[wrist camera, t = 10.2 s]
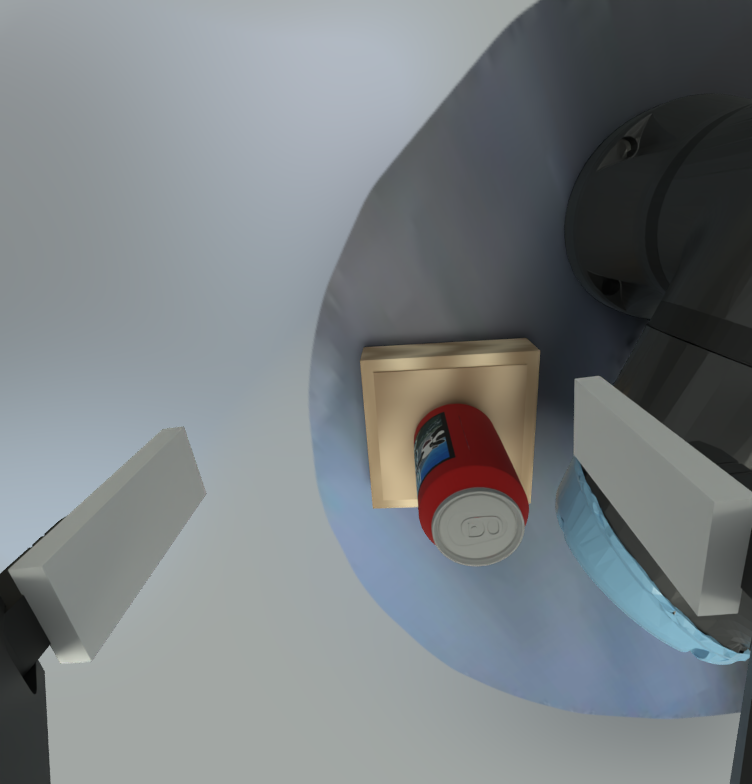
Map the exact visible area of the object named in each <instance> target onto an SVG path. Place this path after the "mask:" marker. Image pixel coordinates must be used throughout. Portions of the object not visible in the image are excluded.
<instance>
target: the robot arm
mask: <svg viewBox="0 0 752 784" xmlns="http://www.w3.org/2000/svg"><path fill="white" fill-rule="evenodd" d="M565 245H566V251H567V255H568V259H569V262H570V265H571V267H572V270H573V272H574V274H575V275H576V277H577V279H578V280H579V282H580V283H581V285H582V286H583V287H584V288H585V289H586V290H587V291H588V293H589V294H591V295H592V296H593V297H594V298H595V299H597V300H598V301H600V302H601V303H603V304H605V305H607V306H609V307H611V308H613V309H616V310H618V311H621V312H623V313H626V314H629V315H632V316H636V317H641V318H648V319H651V320H650V321H649V323H648V325H647V326H646V327H645V329H644V331H643V333H642V335H641V337H640V339H639V340H638V342H637V344H636V346H635V348H634V350H633V351H632V353H631V355H630V357H629V358H628V360H627V362H626V364H625V366H624V367H623V369H622V371H621V373H620V374H619V376H618V378H617V380H616V381H615V383H614V385H613V386H612V385H611V384H610V383H608V382H607V381H606V380H604V379H603V378H602V377H600V376H593V377H585V378H576V379H575V387H574V457H573V459H572V461H571V463H570V465H569V467H568V469H567V471H566V473H565V475H564V477H563V479H562V481H561V483H560V485H559V488H558V490H557V495H556V514H557V518H558V521H559V525H560V527H561V529H562V530H563V532H564V537H565V541H566V542H567V544H568V546H569V548H570V550H571V551H572V553H573V555H574V556H575V558H576V559H577V561H578V562H579V564H580V565H581V566H582V568H583V569H584V570H585V572H586V573H587V574H588V576H589V577H590V578H591V579H592V580H593V582H594V583H595V584H596V585H597V586H598V587H599V588H600V589H601V591H602V592H603V593H604V594H605V595H606V596H607V597H608V598H609V599H610V600H611V601H612V602H613V603H614V604H615V605H616V606H617V607H619V608H620V609H621V610H622V611H623V612H624V613H625V614H626V615H627V616H629V617H630V618H631V619H632V620H633V621H635V622H636V623H637V624H638V625H640V626H641V627H642V628H644V629H645V630H646V631H648V632H649V633H651V634H652V635H653V636H655V637H656V638H658V639H659V640H661V641H663V642H664V643H666V644H667V645H669V646H671V647H673V648H674V649H676V650H679V651H681V652H687V651H691V652H692V654H693V655H694V656H695V657H696V658H697V659H699V660H702V661H706V662H709V663H712V664H720V665H726V664H732V663H734V662H736V661H745V660H746V659H748V658H749V664H748V671H747V677H746V683H745V690H744V696H743V702H742V709H741V715H740V722H739V728H738V734H737V741H736V747H735V754H734V760H733V766H732V773H731V779H730V784H752V99H748V98H743V97H737V96H732V95H726V94H700V95H692V96H687V97H682V98H679V99H675V100H672V101H670V102H667V103H664V104H662V105H660V106H657V107H655V108H653V109H650V110H648V111H646V112H644V113H642V114H640V115H638V116H636V117H634V118H633V119H631V120H629V121H628V122H626V123H625V124H623V125H622V126H621V127H619V128H618V129H617V130H616V131H614V132H613V133H612V134H611V135H610V136H609V137H608V138H607V139H606V140H605V141H604V142H603V143H602V144H601V145H600V146H599V147H598V148H597V150H596V151H595V152H594V153H593V154H592V156H591V157H590V159H589V160H588V161H587V163H586V165H585V166H584V168H583V169H582V171H581V173H580V175H579V177H578V179H577V181H576V183H575V185H574V188H573V190H572V193H571V196H570V199H569V203H568V207H567V212H566V218H565ZM205 495H206V491H205V488H204V485H203V482H202V479H201V476H200V473H199V470H198V467H197V464H196V461H195V458H194V455H193V452H192V449H191V447H190V443H189V440H188V437H187V434H186V431H185V428H184V427H177V428H167V429H162V430H161V431H160V432H159V433H158V434H157V435H156V436H155V437H154V438H153V439H152V440H150V441H149V442H148V443H147V444H146V445H145V446H144V447H143V448H141V450H139V451H138V452H137V453H136V454H135V455H134V456H133V457H132V458H130V460H128V461H127V462H126V463H125V464H124V465H123V466H122V467H121V468H119V469H118V470H117V471H116V472H115V473H114V474H113V475H112V476H111V477H110V478H108V479H107V480H106V481H105V482H104V483H103V484H102V485H101V486H100V487H99V488H97V489H96V490H95V491H94V492H93V493H92V494H91V495H90V496H89V497H88V498H86V499H85V500H84V501H83V502H82V503H81V504H80V505H79V506H78V507H76V508H75V509H74V510H73V511H72V512H71V513H70V514H69V515H67V516H66V517H64V518H63V519H61V520H60V521H58V522H57V523H56V524H55V525H54V526H53V527H52V528H50V529H49V530H48V531H47V532H46V533H45V535H44V536H42V537H40V538H39V539H38V540H37V541H36V542H35V543H34V544H33V545H32V547H31V548H28V549H27V550H26V551H25V552H24V553H23V554H22V555H20V557H18V558H17V559H16V560H15V561H14V562H13V563H12V564H10V565H9V566H8V567H7V568H6V569H5V570H4V571H3V572H2V573H1V574H0V784H50V766H49V748H48V729H47V709H46V691H45V675H44V674H45V672H44V670H43V668H42V666H41V664H40V662H39V661H38V659H39V658H40V656H41V655H42V654H43V653H44V651H45V650H46V649H47V648H48V646H49V645H50V646H51V648H52V649H53V651H54V653H55V655H56V656H57V658H58V660H59V662H60V664H65V663H78V662H91V661H92V660H93V659H94V657H95V656H96V654H97V653H98V651H99V650H100V649H101V647H102V646H103V644H104V643H105V641H106V640H107V638H108V637H109V635H110V634H111V633H112V631H113V629H114V628H115V627H116V625H117V624H118V622H119V621H120V619H121V618H122V616H123V615H124V613H125V612H126V610H127V609H128V608H129V606H130V605H131V603H132V602H133V600H134V599H135V597H136V596H137V594H138V593H139V592H140V590H141V589H142V587H143V586H144V584H145V583H146V581H147V580H148V578H149V577H150V576H151V574H152V573H153V571H154V570H155V568H156V567H157V565H158V564H159V562H160V561H161V559H162V558H163V557H164V555H165V554H166V552H167V550H168V549H169V548H170V546H171V545H172V543H173V542H174V540H175V539H176V537H177V536H178V535H179V533H180V532H181V530H182V529H183V527H184V526H185V524H186V523H187V521H188V520H189V518H190V517H191V516H192V514H193V512H194V511H195V510H196V508H197V507H198V505H199V504H200V502H201V501H202V499H203V498H204V497H205Z"/></svg>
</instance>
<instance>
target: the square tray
mask: <svg viewBox="0 0 752 784" xmlns="http://www.w3.org/2000/svg"><path fill="white" fill-rule="evenodd" d="M539 364H540V350H539V349H538V348H537V347H536V346H535V345H533V344H532V343H531V342H530V341H529V340H528V339H527V338H516V339H498V340H481V341H464V342H446V343H429V344H411V345H394V346H377V347H364V348H363V351H362V355H361V359H360V365H361V376H362V388H363V399H364V411H365V422H366V434H367V445H368V457H369V468H370V480H371V491H372V503H373V508H403V507H418V499H417V487H416V474H415V460H414V435H415V431H416V428H417V426H418V424H419V423H420V421H421V420H422V419H423V418H424V417H425V416H426V415H427V414H428V413H429V412H431V411H432V410H434V409H436V408H438V407H440V406H443V405H447V404H466V405H470V406H472V407H475V408H477V409H479V410H480V411H482V412H483V413H484V414H485V415H486V416H487V417H488V418H489V419H490V420H491V422H492V424H493V426H494V428H495V430H496V432H497V433H498V435H499V437H500V439H501V441H502V444H503V446H504V448H505V450H506V452H507V454H508V456H509V458H510V460H511V462H512V464H513V467H514V469H515V471H516V473H517V475H518V477H519V480H520V482H521V484H522V486H523V489H524V491H525V493H526V495H527V499H528V503H531V488H532V473H533V457H534V441H535V426H536V410H537V395H538V379H539Z"/></svg>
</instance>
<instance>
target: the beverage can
mask: <svg viewBox="0 0 752 784" xmlns="http://www.w3.org/2000/svg"><path fill="white" fill-rule="evenodd" d="M414 460H415V474H416V487H417V499H418V510H419V519H420V523H421V526H422V529H423V530H424V532H425V534H426V535H427V537H428V538H429V539H430V540H431V541H432V542H433V543H434V544H435V545H436V546H437V548H438V549H439V550H440V552H441V553H442V554H443V555H445V556H446V557H447V558H449V559H450V560H452V561H454V562H456V563H459V564H462V565H467V566H486V565H490V564H494V563H497V562H499V561H501V560H503V559H505V558H506V557H508V556H509V555H510V554H512V553H513V552H514V551H515V550H516V548H517V547H518V546H519V544H520V543H521V540H522V538H523V535H524V529H525V525H526V522H527V519H528V513H529V503H528V499H527V495H526V493H525V491H524V489H523V486H522V484H521V482H520V480H519V477H518V475H517V473H516V471H515V469H514V467H513V464H512V462H511V460H510V458H509V456H508V454H507V452H506V450H505V448H504V446H503V444H502V441H501V439H500V437H499V435H498V433H497V432H496V430H495V428H494V426H493V424H492V422H491V420H490V419H489V418H488V417H487V416H486V415H485V414H484V413H483V412H482V411H480V410H479V409H477V408H475V407H472V406H470V405H466V404H447V405H443V406H440V407H438V408H436V409H434V410H432V411H431V412H429V413H428V414H427V415H426V416H425V417H424V418H423V419H422V420H421V421H420V423H419V424H418V426H417V428H416V431H415V435H414Z"/></svg>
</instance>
